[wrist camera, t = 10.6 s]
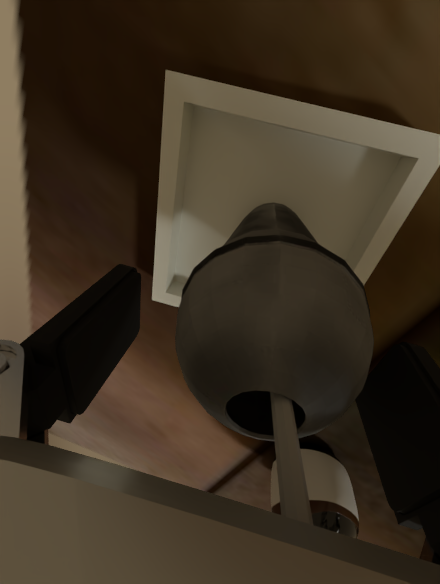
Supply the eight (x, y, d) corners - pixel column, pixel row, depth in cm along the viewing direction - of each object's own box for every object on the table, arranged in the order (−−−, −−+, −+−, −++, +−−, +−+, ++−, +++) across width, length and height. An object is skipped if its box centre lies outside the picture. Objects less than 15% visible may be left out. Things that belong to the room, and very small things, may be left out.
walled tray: (426, 138, 15) (456, 138, 13) (319, 326, 24) (324, 348, 22) (182, 80, 16) (165, 69, 14) (164, 283, 25) (151, 299, 22)
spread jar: (323, 433, 33) (343, 555, 23) (366, 473, 36) (400, 596, 26) (253, 452, 39) (247, 556, 29) (296, 485, 42) (303, 589, 32)
